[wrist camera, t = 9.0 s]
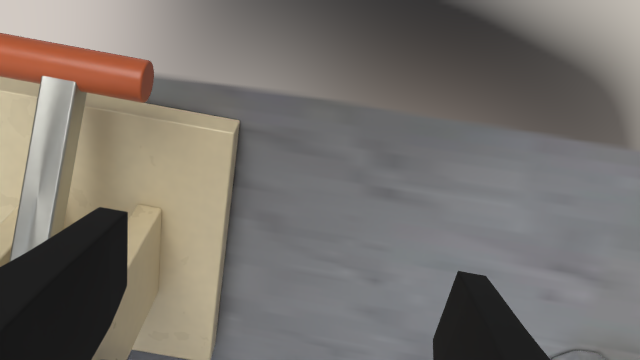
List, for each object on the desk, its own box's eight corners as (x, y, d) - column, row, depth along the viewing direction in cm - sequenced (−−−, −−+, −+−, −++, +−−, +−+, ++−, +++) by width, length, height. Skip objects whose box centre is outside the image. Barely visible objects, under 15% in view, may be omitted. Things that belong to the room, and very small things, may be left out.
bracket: (-22, 71, 22) (-262, 212, 14) (240, 120, 22) (163, 287, 14) (8, 308, 28) (-146, 508, 20) (215, 344, 28) (150, 557, 20)
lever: (10, 39, 19) (-32, 21, 17) (160, 67, 19) (140, 53, 17) (-50, 384, 20) (-99, 414, 17) (100, 409, 20) (72, 443, 17)
